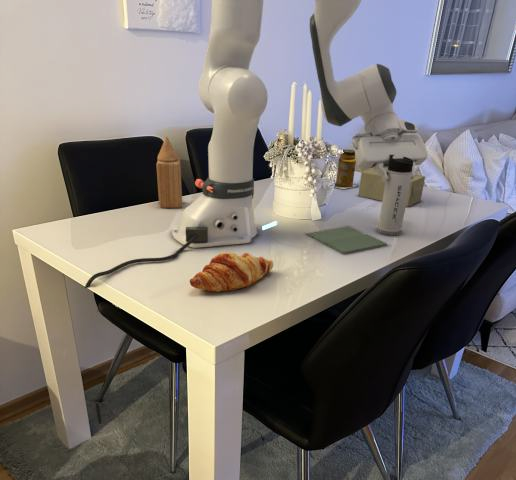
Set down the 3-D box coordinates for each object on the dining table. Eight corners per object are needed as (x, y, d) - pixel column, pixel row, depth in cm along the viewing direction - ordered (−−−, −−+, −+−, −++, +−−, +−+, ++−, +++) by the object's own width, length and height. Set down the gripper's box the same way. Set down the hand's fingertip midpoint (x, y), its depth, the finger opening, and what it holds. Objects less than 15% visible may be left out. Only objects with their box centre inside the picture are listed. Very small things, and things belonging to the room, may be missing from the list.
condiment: (357, 186, 182) (362, 151, 176) (343, 189, 177) (347, 154, 171) (341, 182, 187) (345, 147, 180) (327, 185, 182) (330, 150, 175)
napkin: (344, 254, 124) (344, 251, 124) (306, 234, 136) (307, 232, 135) (386, 245, 130) (387, 243, 130) (347, 227, 142) (348, 225, 141)
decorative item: (160, 202, 157) (156, 133, 147) (182, 202, 158) (179, 133, 147) (159, 208, 152) (154, 137, 141) (181, 208, 152) (178, 137, 142)
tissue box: (357, 195, 171) (363, 146, 163) (370, 190, 177) (377, 143, 169) (409, 207, 161) (418, 155, 153) (421, 201, 168) (431, 151, 159)
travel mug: (383, 226, 143) (395, 152, 133) (404, 232, 140) (418, 156, 129) (372, 231, 139) (384, 156, 129) (394, 237, 136) (408, 160, 125)
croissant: (263, 280, 117) (254, 246, 116) (290, 274, 109) (281, 238, 108) (185, 303, 105) (174, 265, 104) (209, 297, 97) (198, 257, 96)
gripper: (356, 126, 128) (371, 174, 125) (422, 124, 135) (438, 170, 132) (345, 142, 134) (359, 188, 131) (408, 139, 140) (423, 183, 138)
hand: (399, 179), depth 132 cm, fingers closed on travel mug, 6 cm apart
